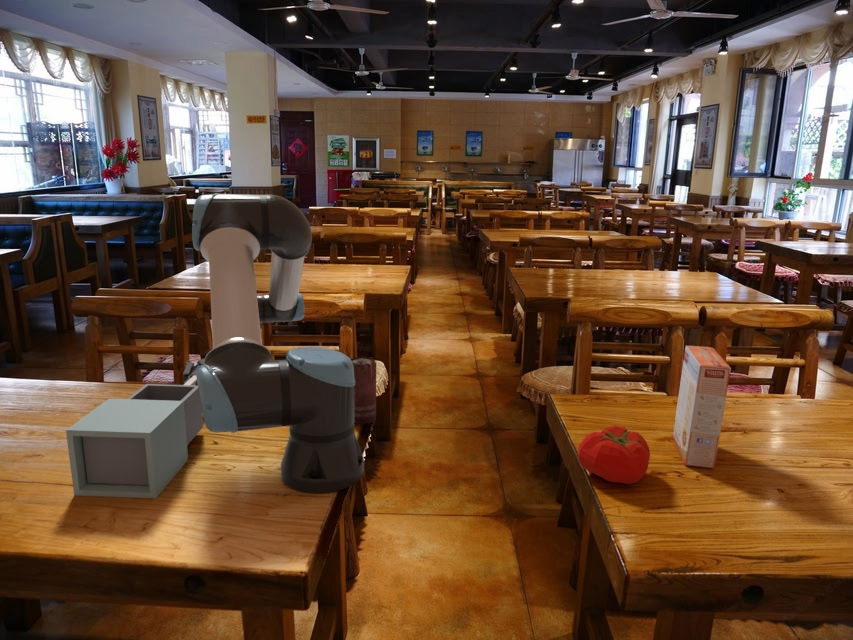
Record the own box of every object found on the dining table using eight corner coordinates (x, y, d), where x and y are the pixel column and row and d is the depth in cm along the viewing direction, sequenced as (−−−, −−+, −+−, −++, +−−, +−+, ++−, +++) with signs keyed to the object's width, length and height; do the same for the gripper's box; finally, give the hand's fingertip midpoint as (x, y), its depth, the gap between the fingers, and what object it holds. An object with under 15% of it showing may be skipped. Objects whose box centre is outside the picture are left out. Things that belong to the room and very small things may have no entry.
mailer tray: (149, 425, 132) (146, 383, 130) (203, 427, 132) (200, 385, 130) (87, 482, 109) (82, 433, 107) (152, 485, 109) (147, 435, 107)
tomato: (599, 499, 111) (604, 453, 109) (565, 465, 123) (569, 423, 120) (667, 490, 115) (673, 445, 112) (628, 458, 126) (633, 417, 124)
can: (363, 428, 137) (363, 366, 133) (342, 420, 141) (342, 360, 137) (382, 419, 142) (382, 359, 138) (361, 412, 145) (361, 353, 142)
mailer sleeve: (115, 457, 121) (108, 398, 118) (188, 459, 121) (183, 400, 118) (74, 495, 107) (65, 430, 104) (156, 498, 107) (150, 432, 104)
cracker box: (716, 470, 122) (732, 367, 117) (683, 466, 123) (698, 364, 118) (701, 439, 136) (715, 346, 130) (671, 436, 137) (684, 343, 131)
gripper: (249, 372, 161) (217, 408, 138) (198, 370, 161) (157, 406, 138) (247, 344, 159) (215, 376, 136) (196, 342, 159) (155, 374, 136)
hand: (186, 391), depth 137 cm, fingers closed
